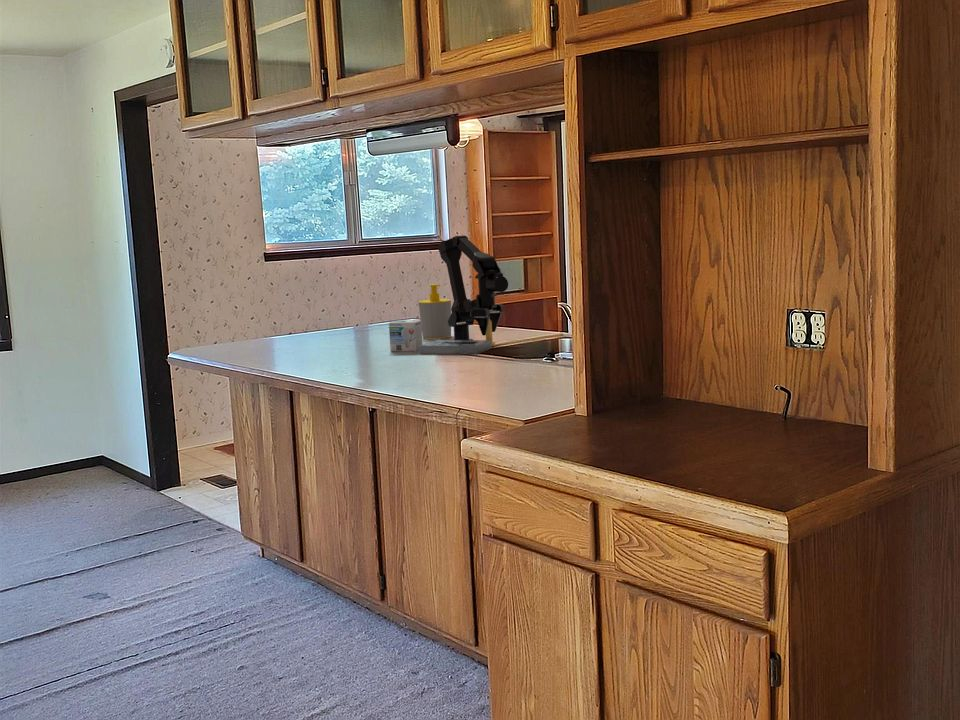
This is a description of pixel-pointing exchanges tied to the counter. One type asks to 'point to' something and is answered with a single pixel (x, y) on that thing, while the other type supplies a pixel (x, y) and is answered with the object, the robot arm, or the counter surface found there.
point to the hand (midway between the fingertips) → (488, 333)
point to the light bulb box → (405, 335)
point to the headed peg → (489, 333)
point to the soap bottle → (435, 316)
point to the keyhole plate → (456, 347)
